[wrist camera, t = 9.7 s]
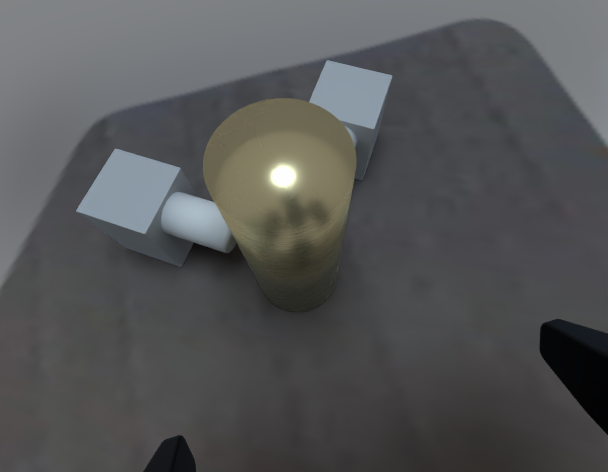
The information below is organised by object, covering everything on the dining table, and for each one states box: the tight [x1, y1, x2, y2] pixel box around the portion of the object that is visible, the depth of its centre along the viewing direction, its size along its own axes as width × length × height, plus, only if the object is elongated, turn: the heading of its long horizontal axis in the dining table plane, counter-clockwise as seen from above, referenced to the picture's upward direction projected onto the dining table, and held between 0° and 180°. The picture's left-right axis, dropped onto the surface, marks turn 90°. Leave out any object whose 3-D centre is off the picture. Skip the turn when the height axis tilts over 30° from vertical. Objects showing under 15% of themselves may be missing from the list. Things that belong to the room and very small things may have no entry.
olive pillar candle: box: [203, 98, 357, 312], centre depth 18 cm, size 5×5×12 cm
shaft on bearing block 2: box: [309, 60, 392, 181], centre depth 23 cm, size 8×4×6 cm, turn 161°
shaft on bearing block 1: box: [76, 149, 236, 267], centre depth 22 cm, size 8×4×6 cm, turn 71°
